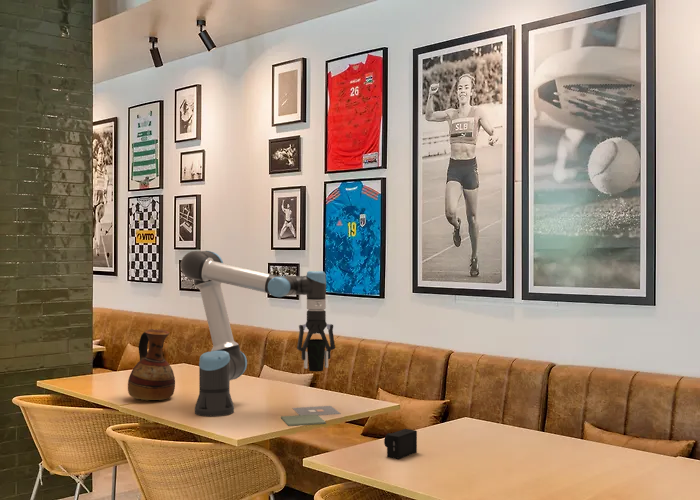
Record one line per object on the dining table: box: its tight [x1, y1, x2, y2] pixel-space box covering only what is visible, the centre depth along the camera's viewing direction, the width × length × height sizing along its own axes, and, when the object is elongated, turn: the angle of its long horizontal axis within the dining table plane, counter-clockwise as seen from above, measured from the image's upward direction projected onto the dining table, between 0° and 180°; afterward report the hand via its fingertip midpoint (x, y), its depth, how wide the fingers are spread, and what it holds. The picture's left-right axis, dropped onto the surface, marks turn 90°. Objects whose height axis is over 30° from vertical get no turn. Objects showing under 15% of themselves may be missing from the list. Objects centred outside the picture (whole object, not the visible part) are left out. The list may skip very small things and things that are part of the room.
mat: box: [280, 414, 327, 427], centre depth 279 cm, size 14×14×1 cm
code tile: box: [292, 405, 342, 416], centre depth 297 cm, size 16×16×1 cm
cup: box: [306, 338, 326, 372], centre depth 297 cm, size 8×8×12 cm
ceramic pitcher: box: [127, 328, 176, 401], centre depth 321 cm, size 20×20×30 cm
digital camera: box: [383, 428, 418, 460], centre depth 232 cm, size 10×5×7 cm, turn 142°
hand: (316, 367), depth 297 cm, fingers closed on cup, 8 cm apart
